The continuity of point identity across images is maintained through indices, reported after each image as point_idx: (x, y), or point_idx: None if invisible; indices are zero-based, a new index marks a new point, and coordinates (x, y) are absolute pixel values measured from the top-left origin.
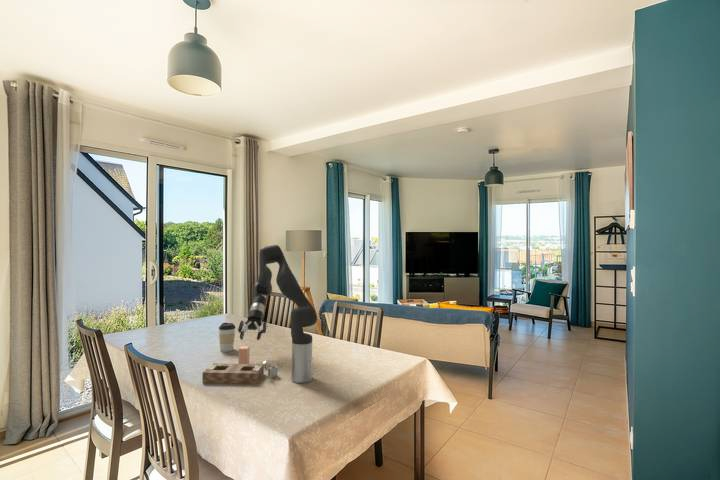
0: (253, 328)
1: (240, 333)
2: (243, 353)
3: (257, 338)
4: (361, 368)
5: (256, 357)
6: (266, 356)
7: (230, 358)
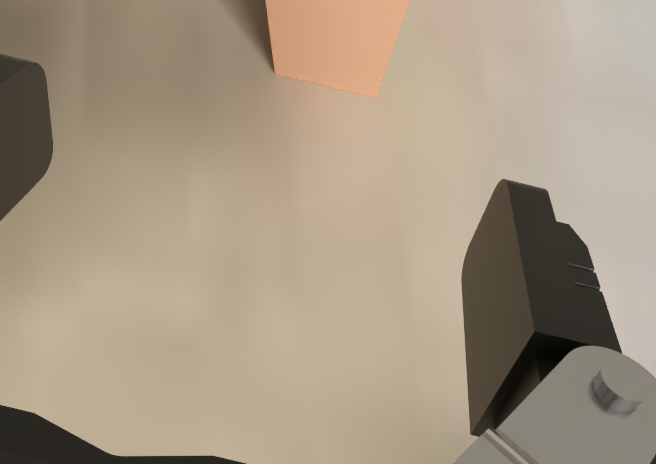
0: (44, 443)
1: (612, 331)
2: None
3: (20, 59)
4: None
5: (191, 433)
6: None
7: None
